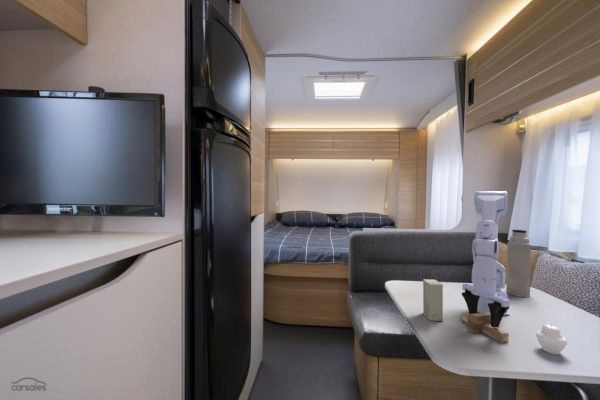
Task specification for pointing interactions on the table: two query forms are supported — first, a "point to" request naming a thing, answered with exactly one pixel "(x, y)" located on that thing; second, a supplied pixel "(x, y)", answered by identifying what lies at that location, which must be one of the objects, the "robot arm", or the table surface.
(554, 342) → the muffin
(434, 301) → the skincare box
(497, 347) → the table surface
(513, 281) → the thermos bottle
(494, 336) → the oak rail
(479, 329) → the tall wooden block
